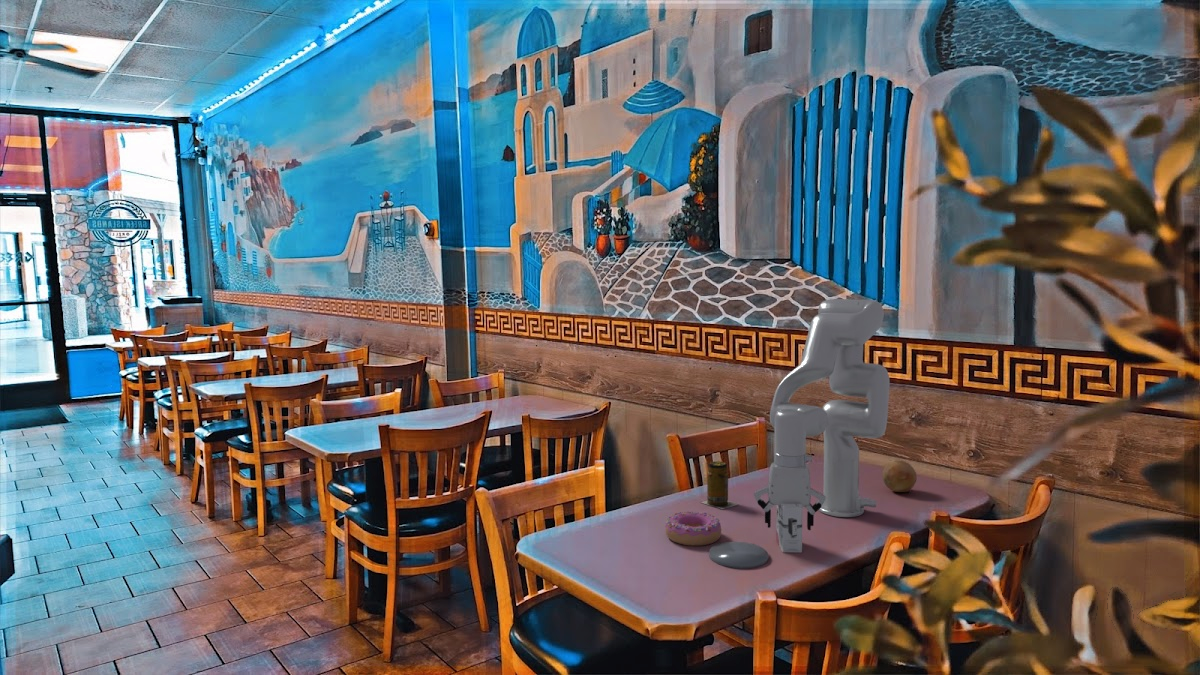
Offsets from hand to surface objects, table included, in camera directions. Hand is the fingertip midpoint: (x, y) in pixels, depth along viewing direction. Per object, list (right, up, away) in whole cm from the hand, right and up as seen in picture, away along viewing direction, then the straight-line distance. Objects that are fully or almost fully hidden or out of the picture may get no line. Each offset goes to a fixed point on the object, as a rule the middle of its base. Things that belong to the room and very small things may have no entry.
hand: (788, 527), depth 187 cm
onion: (+44, 0, +43) cm, 62 cm away
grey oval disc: (-14, -6, -6) cm, 16 cm away
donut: (-23, -5, +8) cm, 25 cm away
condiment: (-12, -2, +34) cm, 36 cm away
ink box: (0, -5, +1) cm, 5 cm away
